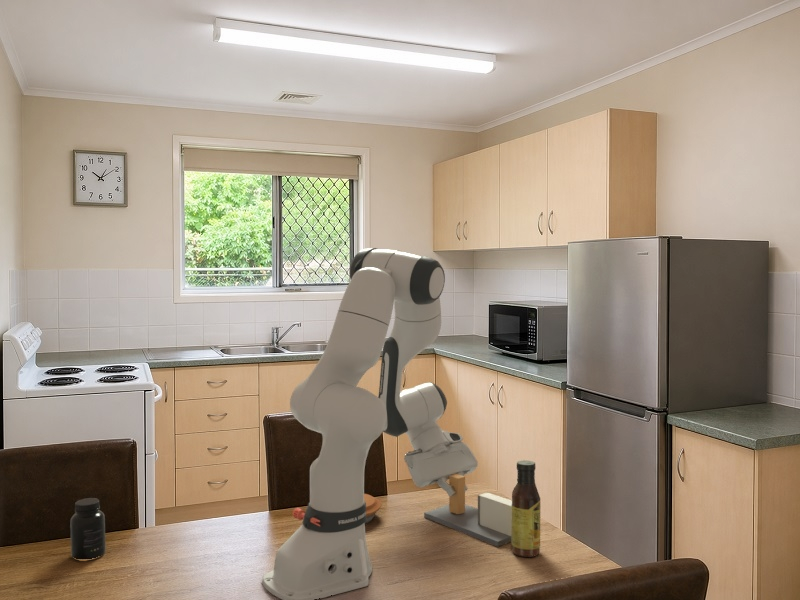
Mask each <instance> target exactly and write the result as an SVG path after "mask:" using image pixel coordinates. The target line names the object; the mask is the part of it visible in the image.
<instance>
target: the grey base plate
mask: <svg viewBox="0 0 800 600" xmlns="http://www.w3.org/2000/svg"><path fill="white" fill-rule="evenodd" d="M423 514H424V515H423V518H425V519H427V520H430V521H432V522H434V523H437V524H440V525H442V526H445V527H447V528H450V529H451V530H455V531H458V532H460V533H462V534H465V535H467V536H470V537H473V538H475V539H477V540H479V541H482V542H485V543H487V544H490V545H492V546H494V547H499V548H500V547H502V546H504V545H506V544H508V543H511V520H512V500H511V499H509V498H507V497H506V498H505V497H502V496H499V495H497V494H493V493H490V492H488V491H487V492H483V493H480V494H478V495H477V508H476V507H474V506H471V505H469V504H466V503H465V512H464V513H461V514H455V513H453V512H450V511H449V504H446V505H444V506H443V505H442V506H440V507H437V508H434V509H431V510H428V511H424V513H423Z"/></svg>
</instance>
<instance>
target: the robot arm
mask: <svg viewBox="0 0 800 600" xmlns="http://www.w3.org/2000/svg"><path fill="white" fill-rule="evenodd" d="M445 275H446V274H445V271H444V268H443V267H442V264H440V262H439V261H438V260H437V259H435V258H432V257H429V256H427V255H423V256H421V255H417V254H414V253H409V252H406V251H405V252H404V251H402V250H395V249H378V248H377V247H370V248H368V247H367V248H363V249H361V250H359V251H358V252H357V253H356V254H355V255H354V257H353V258H352V260H351V262H350V265H349V279H350V280H349V283H348V285H347V287H346V289H345V291H344V293H343V296H342V298H341V301H340V304H339V307H338V309H337V313H336V317H335V320H334V323H333V326H332V329H331V332H330V336H329V338H328V342H327V344H326V347H325V349H324V351H323V352H322V355H321V356H320V358H319V360H318V362H317V363H316V365H315V366H314V368H313V370H312V371H311V373H310V374H309V375H308V376H307V378H306V379H305V380H303V381H302V382H300V383H299V384H297V386H296V387H295V388H294V390H293V391H292V393H291V396H290V399H289V400H290V401H289V407H290V411H291V414H292V416H293V417H294V419H295V420H297V421H298V422H299V423H300V424H301V425H302V426H304V427H305V428H306V429H308V430H310V431H314V432H315V433H316V432H317V433H319V434H321V436H322V445H321V449H320V452H319V455H318V457H317V458H316V459H315V460H313V461H312V463H311V465H310V467H309V502H308V503H307V508H306V510H304V509H301V508H300V507H296V508H294V509H293V511H292V517H293V518H295V519H297V520H300V521H302V524H301V525H300V526H299V527H298V528H297V529H296V530H295V532H293V534H292V535H291V536H290V537H289V538H288V539H287V540H286V541H285V542H283V544H282V545H281V546H280V547H279V548H278V549H277V551H276V554H275V557H274V565H273V569H272V570H270V571H268V572H266V573H264V574H263V575H262V581H261V582H262V585H263V587H264V588H265V590H267V592H268V593H270V594H271V595H273V596H275V597H276V598H278V599H280V600H314V599H317V600H319V598H320V599H323V598H327V597H331V595H332V596H334V595H339V594H342V593H346V592H350V591H353V590H358V589H360V588H361V589H362V588H365V587H367V586H369V585H370V579H369V578H370V575H372V573H373V566H372V563H371V560H370V559H371V558H370V554H369V551H368V545H367V538H366V526H365V525H366V524H365V521H366V502H365V501H364V494H365V470H366V469H365V466H366V462H367V461H366V460H367V457H368V455H369V450H370V448H371V446H372V444H373V442H375V440H377V439H378V438H379V437H380V436H381V435H382V434H383V433H385V434H387V435H389V436H391V437H394V438H395V437H396V438H397V437H399V436H401V435H403V434H405V435H406V436H407V437H408V439H409V442H410V445H411V447H412V449H413V450H411V451H407V452H406V453H405V455H404V458H403V460H404V462H405V463H406V466H407V469H408V471H409V475H410V477H411V479H412V481H413V483H414V485H415V486H417V487H418V488H424V487H428V486H430V485H434V484H437V485H438V487H439V488H440V489H442V490H443V491H445V492H446V493H447V496H448V497H449V496H453V495H455V494H456V493H457V491H456V490H455V488H454V486H452V487H451V486H450V485H449V482H447V480H449V476H450V475H454V474H459V475H462V476H466V475H468V474H471V473H473V472H474V471H475V470H476V469H477V468H478V467H479V466H478V464H479V463H478V460H477V458H476V456H475V455H474V453H473V451H472V449H471V448H470V447H469V445H468V444H467V443H465V442H463V441H464V438H463V436H462V435H461V434H460V433H458V432H457V433H456V432H451V431H447V430H442V429H443V428H441V427H440V425H439V424H438V420H439V419H441V418H442V417H443V415H444V414H445V412H446V409H447V405H448V400H447V397H446V395H445V393H444V391H443V390H442V388H440V386H438V384H435V383H434V382H430V381H429V382H424V383H421V384H418V385H415V386H413V387H410V388H405V389H403V390H401V389H402V380H403V379H402V378H403V371H404V370H405V368H406V366H407V365H408V364H409V363H410V362H411V361H412V360H413V359H414V358H415V357H416V356H417V355H419V354H420V353H422V352H423V351H424V350H426V349H427V348H428V347H430V346H431V345H432V344H433V343H434V342H435V340H437V338H438V337H439V335H440V332H441V327H442V310H441V309H442V308H441V298H440V297H441V295H442V293H443V291H444V287H445V281H446V279H445V278H446V277H445ZM393 308H394V323H393V326H392V330H391V333H390V334H389V337H388V338H387V339H386V337H387V333H388V330H389V327H390V323H391V319H392V313H393ZM381 354H382V355H381ZM380 358H381V365H380V375H379V377H380V378H379V386H378V387H379V388H378V396H377V395H375V394H374V393H372V392H371V391H369V390H368V389H365V388H363V387H359V386H358V384H359V383H360V381H361V379H362V378H363V377H364V375H365V374H366V373H367V371H369V370H370V369H372V368H373V367H375V366H376V364H377V363H378V362H379V360H380ZM467 490H468V486H467V484H466V483H465V493H466V492H467Z"/></svg>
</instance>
